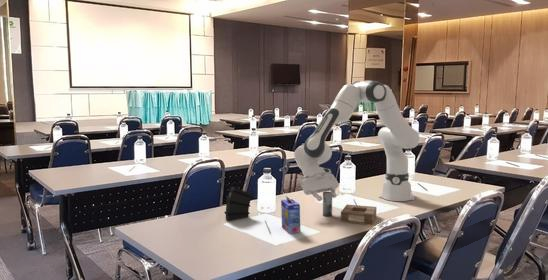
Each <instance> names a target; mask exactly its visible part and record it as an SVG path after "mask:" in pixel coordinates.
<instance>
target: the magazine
mask: <svg viewBox="0 0 548 280" xmlns="http://www.w3.org/2000/svg"><path fill="white" fill-rule="evenodd" d="M228 190H229V193H228V195H227V198H226V200H225V202H226V205H225V211H224V214H225V220H226V221H229V222H230V221H234V220H241V219H245V218H249V215H250V214H251V213H250V212H249V210H250V207H251V205H250V204H251V201H252V200H253V199H254V197H253V196H254V195H253V193H250V192H247V191H244V190H242V189H239V188H237V187H234V186H231V188H229V189H228Z"/></svg>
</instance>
